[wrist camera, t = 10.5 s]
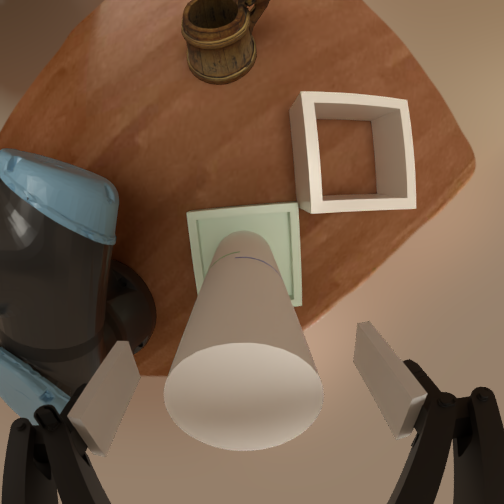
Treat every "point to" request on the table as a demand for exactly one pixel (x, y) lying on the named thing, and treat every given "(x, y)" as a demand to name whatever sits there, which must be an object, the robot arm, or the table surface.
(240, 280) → the cylindrical container
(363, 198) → the hollow square frame
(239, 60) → the wooden mug
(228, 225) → the tray
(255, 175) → the table surface
